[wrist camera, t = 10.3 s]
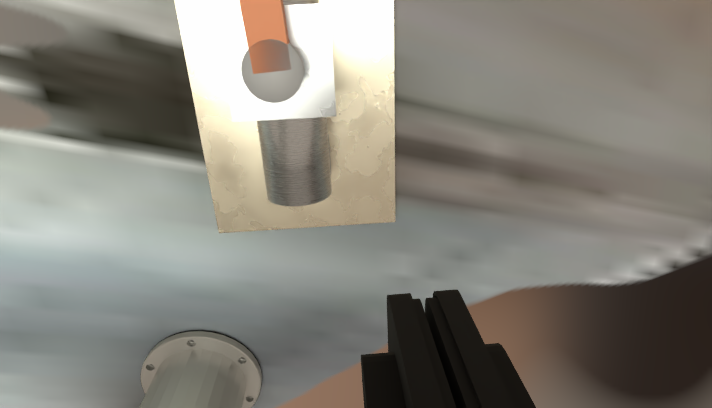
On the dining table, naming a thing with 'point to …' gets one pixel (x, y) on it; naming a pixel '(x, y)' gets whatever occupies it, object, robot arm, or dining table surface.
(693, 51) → the dining table surface
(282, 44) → the valve lever
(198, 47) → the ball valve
